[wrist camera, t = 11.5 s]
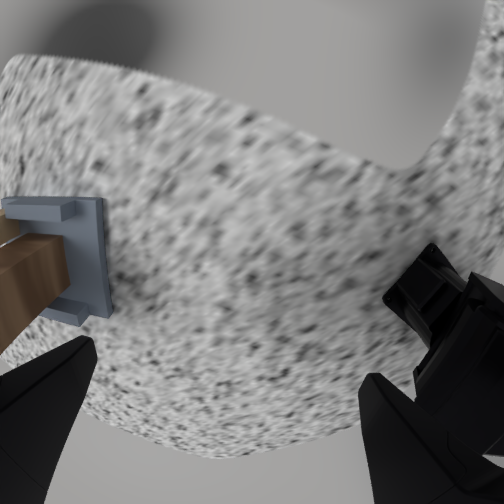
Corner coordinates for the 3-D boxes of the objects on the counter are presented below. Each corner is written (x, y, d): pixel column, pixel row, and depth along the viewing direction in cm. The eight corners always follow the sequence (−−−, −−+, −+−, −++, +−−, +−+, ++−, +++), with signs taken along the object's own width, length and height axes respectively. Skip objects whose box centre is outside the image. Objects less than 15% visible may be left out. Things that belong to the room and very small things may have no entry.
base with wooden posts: (102, 197, 19) (34, 228, 12) (113, 312, 23) (71, 371, 15) (7, 196, 19) (-52, 220, 12) (23, 291, 23) (-22, 331, 15)
